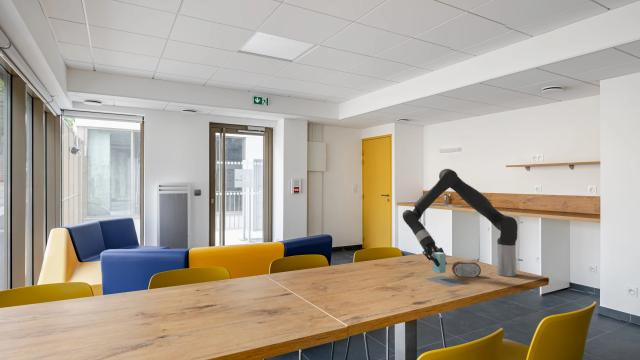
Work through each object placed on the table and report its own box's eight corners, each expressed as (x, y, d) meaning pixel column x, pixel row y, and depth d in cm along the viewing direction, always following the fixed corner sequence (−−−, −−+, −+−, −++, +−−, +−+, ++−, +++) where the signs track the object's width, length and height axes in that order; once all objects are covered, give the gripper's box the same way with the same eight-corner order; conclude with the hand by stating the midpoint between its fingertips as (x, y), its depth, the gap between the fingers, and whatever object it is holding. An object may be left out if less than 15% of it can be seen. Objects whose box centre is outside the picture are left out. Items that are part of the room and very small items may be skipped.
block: (438, 270, 198) (439, 251, 198) (445, 272, 194) (445, 253, 194) (433, 271, 196) (433, 252, 196) (439, 273, 192) (439, 253, 192)
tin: (479, 276, 202) (479, 261, 202) (481, 278, 199) (481, 262, 199) (451, 276, 204) (451, 260, 204) (453, 277, 200) (453, 262, 201)
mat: (442, 276, 202) (442, 275, 202) (468, 283, 187) (468, 282, 187) (424, 279, 195) (424, 278, 195) (450, 287, 180) (450, 286, 180)
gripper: (419, 236, 198) (436, 262, 187) (437, 234, 205) (455, 260, 195) (412, 244, 202) (428, 270, 192) (430, 242, 210) (447, 267, 199)
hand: (442, 265), depth 193 cm, fingers closed on block, 4 cm apart
